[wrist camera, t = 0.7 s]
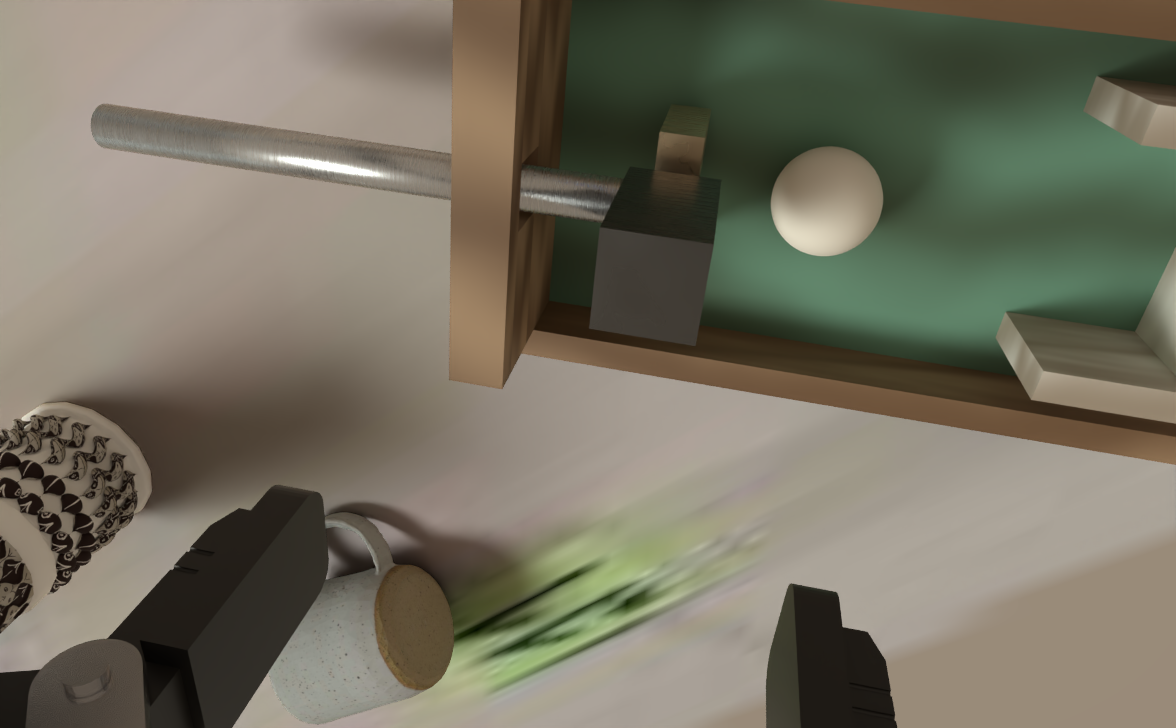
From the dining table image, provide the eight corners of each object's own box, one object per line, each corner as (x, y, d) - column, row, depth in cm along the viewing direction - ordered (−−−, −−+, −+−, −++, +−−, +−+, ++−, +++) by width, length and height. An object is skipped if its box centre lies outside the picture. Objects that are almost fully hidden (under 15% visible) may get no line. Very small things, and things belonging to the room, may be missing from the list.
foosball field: (532, -80, 31) (453, -78, 23) (1335, 10, 28) (1577, 49, 20) (512, 303, 39) (449, 407, 30) (1135, 405, 36) (1248, 550, 27)
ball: (781, 128, 31) (785, 154, 28) (887, 142, 31) (905, 171, 27) (760, 227, 33) (761, 263, 30) (860, 242, 33) (873, 280, 29)
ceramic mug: (477, 622, 49) (433, 730, 43) (372, 649, 52) (315, 754, 46) (384, 487, 46) (320, 581, 39) (277, 524, 49) (200, 618, 42)
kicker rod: (175, 37, 33) (-77, 90, 23) (731, 112, 31) (720, 207, 21) (193, 159, 35) (-27, 255, 25) (709, 237, 33) (689, 377, 23)
